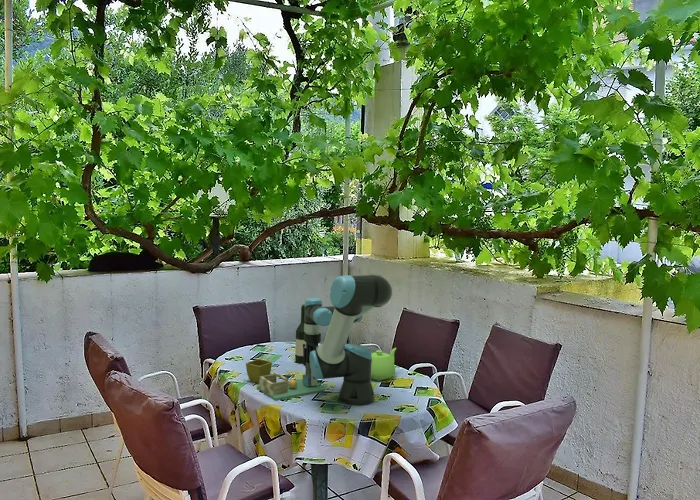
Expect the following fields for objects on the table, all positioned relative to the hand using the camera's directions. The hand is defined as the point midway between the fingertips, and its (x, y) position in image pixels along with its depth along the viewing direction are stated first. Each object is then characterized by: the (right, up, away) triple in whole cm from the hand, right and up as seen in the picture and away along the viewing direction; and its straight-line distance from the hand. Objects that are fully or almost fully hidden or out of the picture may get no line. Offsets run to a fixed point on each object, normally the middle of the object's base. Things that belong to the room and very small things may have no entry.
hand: (311, 383), depth 267 cm
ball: (-8, +1, -5) cm, 10 cm away
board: (-9, -2, -5) cm, 10 cm away
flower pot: (-25, -1, +7) cm, 26 cm away
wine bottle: (-7, +2, +41) cm, 42 cm away
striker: (-1, 0, 0) cm, 1 cm away
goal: (-16, -2, -8) cm, 18 cm away
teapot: (+32, -1, +19) cm, 37 cm away
